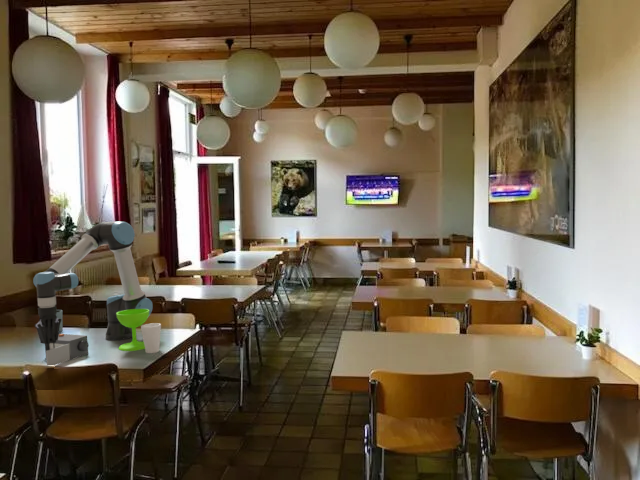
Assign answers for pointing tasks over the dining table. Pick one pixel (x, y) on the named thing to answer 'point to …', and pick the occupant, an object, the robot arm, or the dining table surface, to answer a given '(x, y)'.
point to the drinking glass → (59, 316)
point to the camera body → (73, 344)
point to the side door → (58, 354)
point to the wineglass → (133, 326)
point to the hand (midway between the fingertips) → (50, 357)
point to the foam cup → (151, 337)
